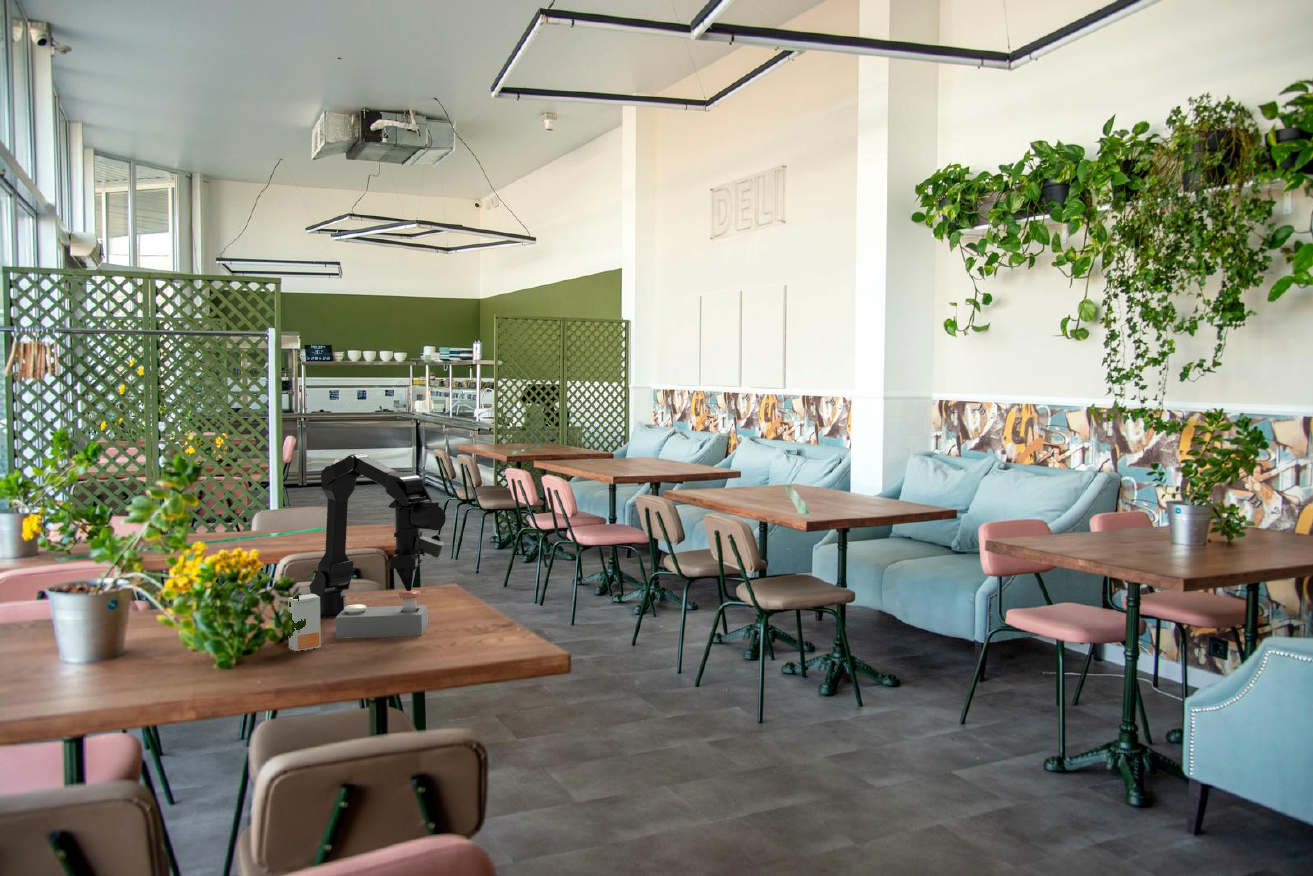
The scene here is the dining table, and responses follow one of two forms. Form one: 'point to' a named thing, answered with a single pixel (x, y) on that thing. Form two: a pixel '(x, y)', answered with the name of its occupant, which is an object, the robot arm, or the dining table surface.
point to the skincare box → (311, 612)
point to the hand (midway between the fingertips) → (409, 590)
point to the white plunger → (355, 609)
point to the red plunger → (409, 600)
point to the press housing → (382, 622)
